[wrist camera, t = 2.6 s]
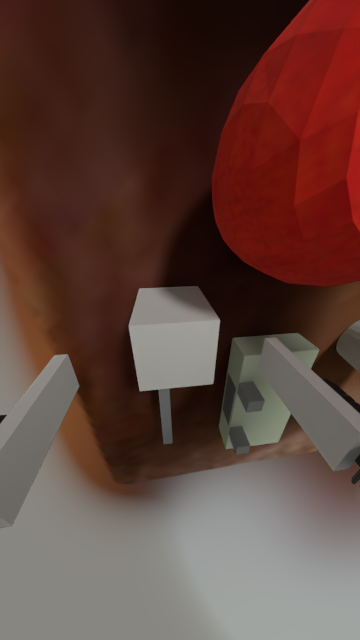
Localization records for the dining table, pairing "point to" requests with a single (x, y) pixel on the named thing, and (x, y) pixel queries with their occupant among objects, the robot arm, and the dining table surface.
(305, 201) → the apple
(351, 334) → the coffee cup
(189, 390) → the dining table surface
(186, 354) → the gray rectangular prism
